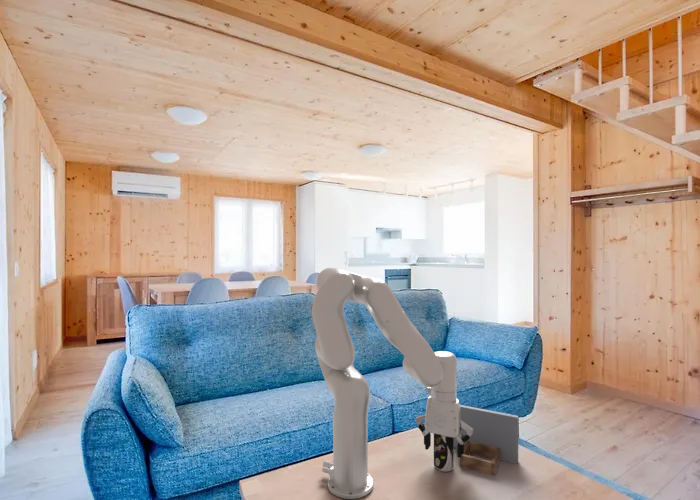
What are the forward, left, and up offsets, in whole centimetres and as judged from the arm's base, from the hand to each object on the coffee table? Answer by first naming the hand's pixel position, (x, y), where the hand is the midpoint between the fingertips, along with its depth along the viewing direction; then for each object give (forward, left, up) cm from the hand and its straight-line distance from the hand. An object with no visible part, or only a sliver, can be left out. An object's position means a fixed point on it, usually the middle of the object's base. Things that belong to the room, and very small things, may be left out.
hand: (443, 451), depth 118 cm
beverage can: (0, 0, -5) cm, 5 cm away
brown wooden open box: (+9, +8, -5) cm, 13 cm away
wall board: (+9, +14, -5) cm, 17 cm away
